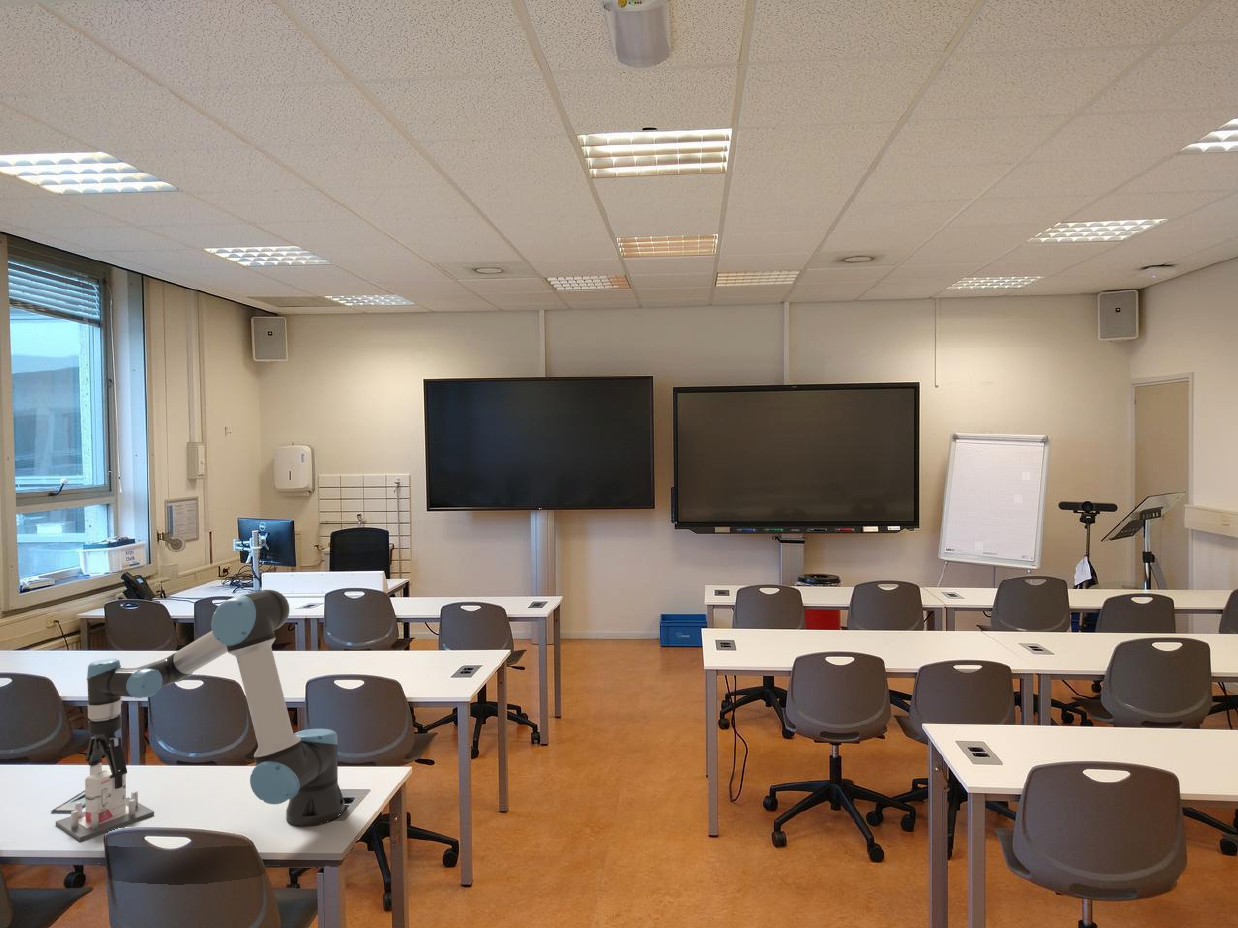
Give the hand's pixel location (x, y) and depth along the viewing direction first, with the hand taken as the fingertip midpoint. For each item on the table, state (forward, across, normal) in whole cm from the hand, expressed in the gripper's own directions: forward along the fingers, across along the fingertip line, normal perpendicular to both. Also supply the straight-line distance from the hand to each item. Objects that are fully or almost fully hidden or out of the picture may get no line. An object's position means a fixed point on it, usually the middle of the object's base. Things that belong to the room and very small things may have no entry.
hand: (106, 793), depth 209 cm
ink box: (+6, 0, 0) cm, 6 cm away
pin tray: (+7, 0, 0) cm, 7 cm away
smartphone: (+7, +20, -1) cm, 21 cm away
